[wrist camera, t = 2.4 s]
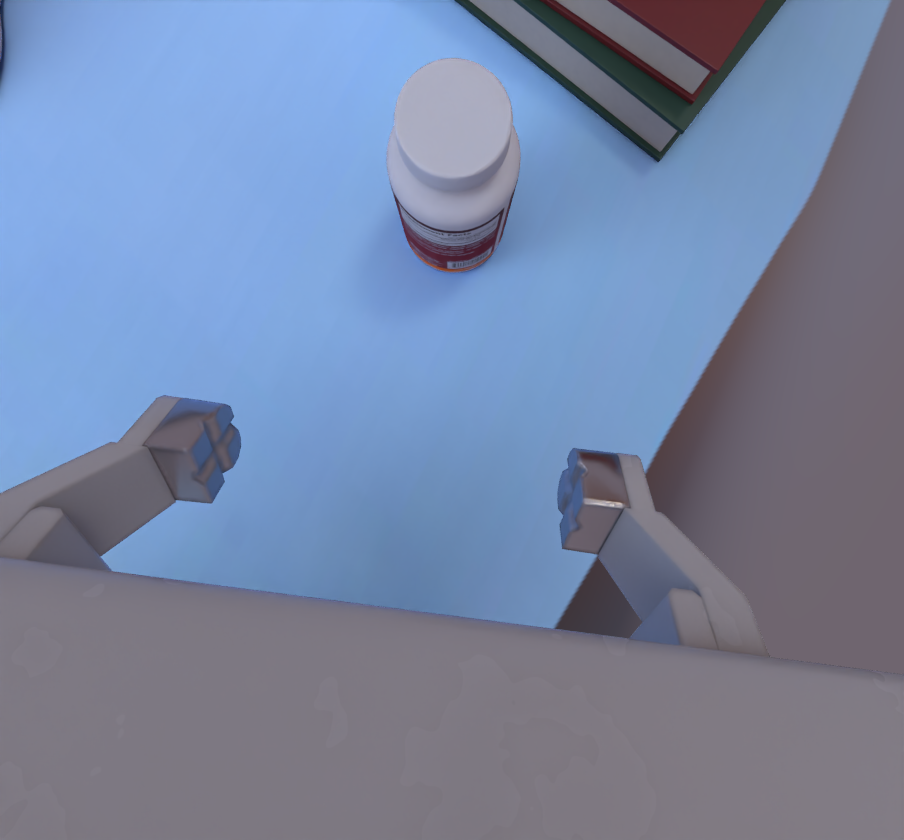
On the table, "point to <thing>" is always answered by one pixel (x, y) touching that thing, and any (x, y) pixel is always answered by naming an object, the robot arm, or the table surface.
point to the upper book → (666, 35)
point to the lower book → (607, 69)
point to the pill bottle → (453, 163)
